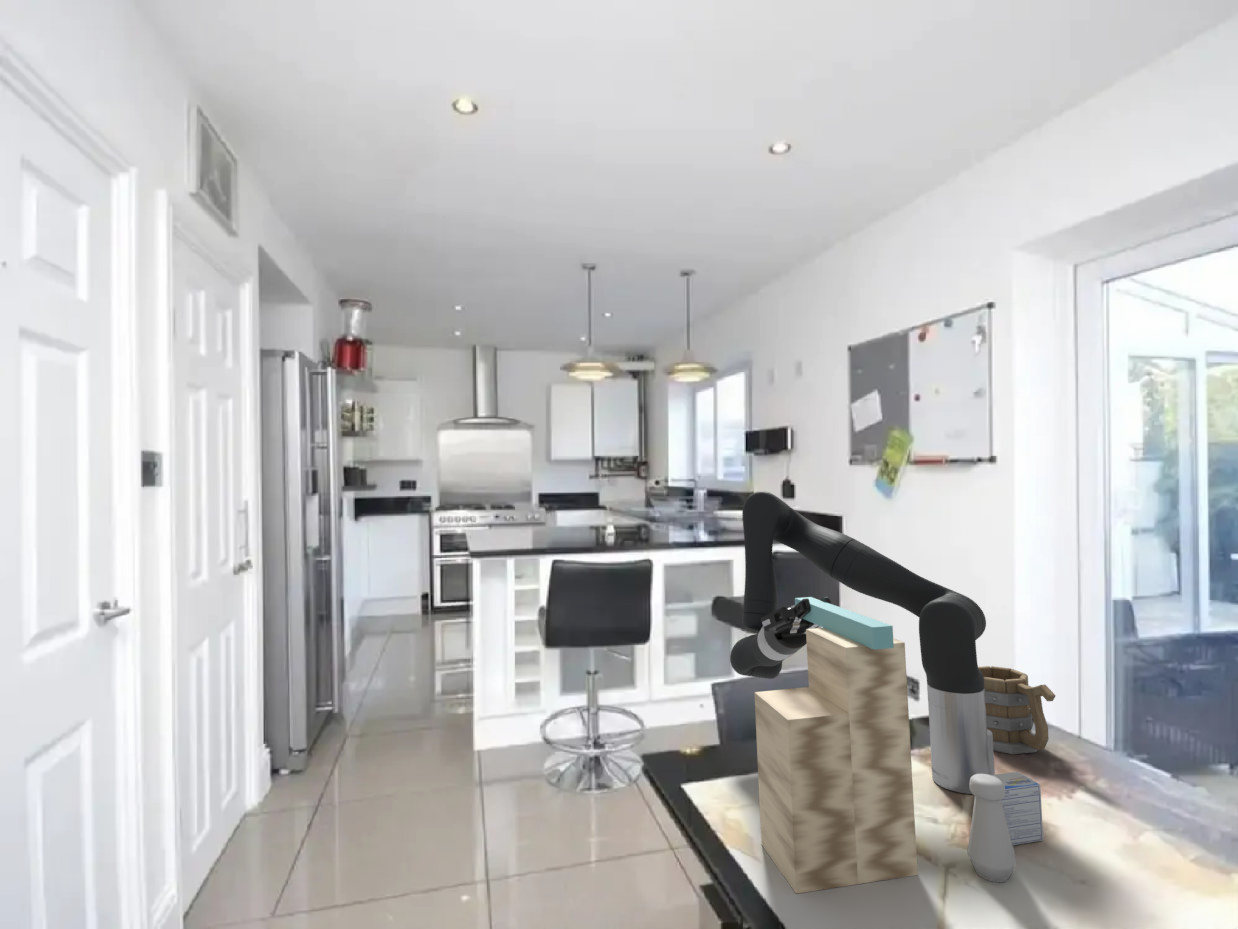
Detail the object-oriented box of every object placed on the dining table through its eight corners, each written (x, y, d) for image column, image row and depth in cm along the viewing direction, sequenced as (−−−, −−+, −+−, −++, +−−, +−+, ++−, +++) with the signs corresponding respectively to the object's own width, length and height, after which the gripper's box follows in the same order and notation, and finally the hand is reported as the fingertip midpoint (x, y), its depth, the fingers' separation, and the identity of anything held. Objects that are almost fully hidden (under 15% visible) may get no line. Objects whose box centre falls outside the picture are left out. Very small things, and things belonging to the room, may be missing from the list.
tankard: (953, 732, 135) (949, 662, 136) (1007, 727, 136) (1003, 658, 137) (1023, 773, 115) (1018, 691, 116) (1085, 767, 117) (1080, 686, 117)
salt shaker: (1024, 888, 83) (1018, 789, 84) (977, 885, 84) (971, 786, 85) (1006, 862, 89) (1000, 769, 89) (962, 859, 90) (957, 767, 91)
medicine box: (1020, 826, 98) (1017, 770, 98) (1044, 842, 94) (1041, 783, 94) (976, 833, 97) (972, 776, 97) (998, 849, 92) (994, 789, 93)
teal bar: (811, 614, 109) (810, 597, 110) (893, 647, 86) (892, 625, 86) (795, 615, 109) (794, 598, 109) (873, 649, 85) (872, 627, 85)
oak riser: (869, 829, 99) (858, 624, 100) (917, 874, 87) (904, 642, 88) (761, 844, 96) (751, 633, 97) (796, 893, 84) (784, 653, 85)
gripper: (742, 618, 119) (772, 584, 105) (811, 613, 121) (850, 579, 107) (751, 658, 115) (784, 628, 101) (822, 652, 117) (864, 622, 103)
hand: (818, 603), depth 104 cm, fingers closed on teal bar, 3 cm apart
